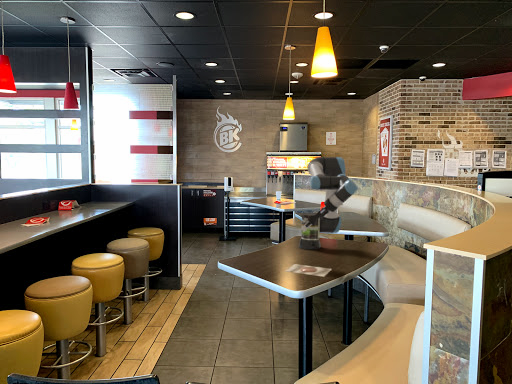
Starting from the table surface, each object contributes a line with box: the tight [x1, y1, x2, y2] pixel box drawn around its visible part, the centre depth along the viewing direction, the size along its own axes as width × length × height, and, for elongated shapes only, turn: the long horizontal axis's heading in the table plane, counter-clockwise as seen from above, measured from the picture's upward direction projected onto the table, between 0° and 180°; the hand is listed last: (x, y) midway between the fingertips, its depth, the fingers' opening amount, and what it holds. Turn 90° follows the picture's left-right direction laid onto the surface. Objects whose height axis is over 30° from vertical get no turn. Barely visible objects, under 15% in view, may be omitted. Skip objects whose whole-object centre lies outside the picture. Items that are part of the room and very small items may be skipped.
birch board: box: [284, 263, 332, 278], centre depth 215 cm, size 22×16×1 cm
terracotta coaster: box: [300, 267, 317, 272], centre depth 215 cm, size 9×9×1 cm
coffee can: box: [301, 212, 320, 241], centre depth 222 cm, size 10×10×14 cm
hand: (305, 228), depth 224 cm, fingers closed on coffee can, 10 cm apart
